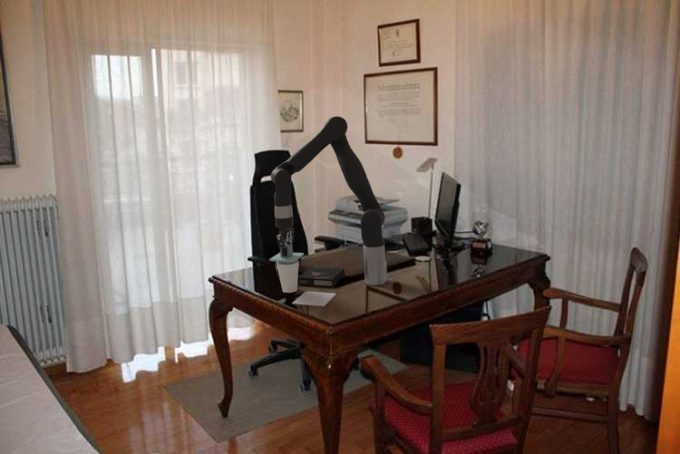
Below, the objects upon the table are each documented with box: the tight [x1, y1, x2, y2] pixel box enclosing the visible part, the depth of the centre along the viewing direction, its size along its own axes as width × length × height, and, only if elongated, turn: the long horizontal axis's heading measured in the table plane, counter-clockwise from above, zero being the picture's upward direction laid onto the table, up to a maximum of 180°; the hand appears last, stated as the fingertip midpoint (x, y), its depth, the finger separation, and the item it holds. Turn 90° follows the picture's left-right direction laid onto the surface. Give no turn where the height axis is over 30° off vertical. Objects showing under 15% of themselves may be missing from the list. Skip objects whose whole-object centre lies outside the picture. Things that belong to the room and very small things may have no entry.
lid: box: [269, 243, 305, 262], centre depth 244 cm, size 11×11×6 cm
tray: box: [291, 290, 337, 307], centre depth 236 cm, size 14×14×1 cm
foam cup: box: [277, 259, 300, 294], centre depth 247 cm, size 10×9×13 cm
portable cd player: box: [297, 265, 346, 288], centre depth 259 cm, size 16×17×4 cm
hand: (286, 254), depth 245 cm, fingers closed on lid, 4 cm apart
